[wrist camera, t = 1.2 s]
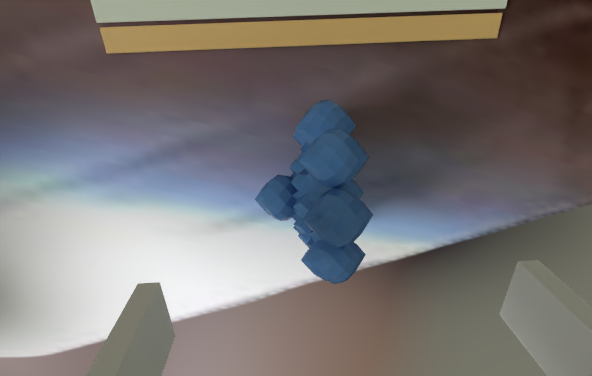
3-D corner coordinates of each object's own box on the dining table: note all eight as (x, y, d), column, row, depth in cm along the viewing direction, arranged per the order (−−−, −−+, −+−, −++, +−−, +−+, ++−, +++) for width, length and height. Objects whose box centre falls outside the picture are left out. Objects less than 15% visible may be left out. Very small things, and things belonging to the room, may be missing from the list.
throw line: (108, 53, 21) (106, 53, 20) (101, 27, 20) (99, 27, 20) (494, 38, 22) (497, 37, 21) (499, 13, 21) (502, 12, 21)
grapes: (251, 85, 22) (229, 135, 11) (346, 80, 22) (413, 124, 12) (265, 225, 27) (259, 350, 17) (342, 220, 28) (386, 340, 17)
